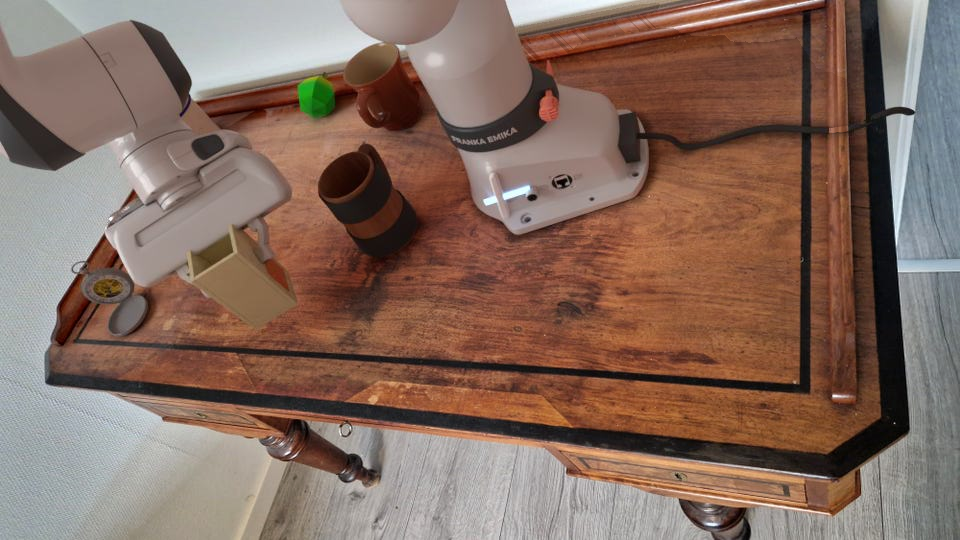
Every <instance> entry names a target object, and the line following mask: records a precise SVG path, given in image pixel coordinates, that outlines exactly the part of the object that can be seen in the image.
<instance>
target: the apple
mask: <svg viewBox="0 0 960 540" xmlns="http://www.w3.org/2000/svg"><path fill="white" fill-rule="evenodd" d="M328 77H329V74H328V73H327V72H325V71H323V73H322V75H315V76H312V77H308V78H306V79H304V80H303V81H302V82H300V83H299V84H297V91H298V101H299V108H300V111H301V112H303V113H304V114H306V115H308V116H309V117H312V119H316V118H321V117H327V115H329V114H330V113H331V112H332V111H334V109H336V99H335V98H336V97H335V89H334V84H333V83H334V82H332V81H328V80H329V79H327V78H328Z"/></svg>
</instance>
